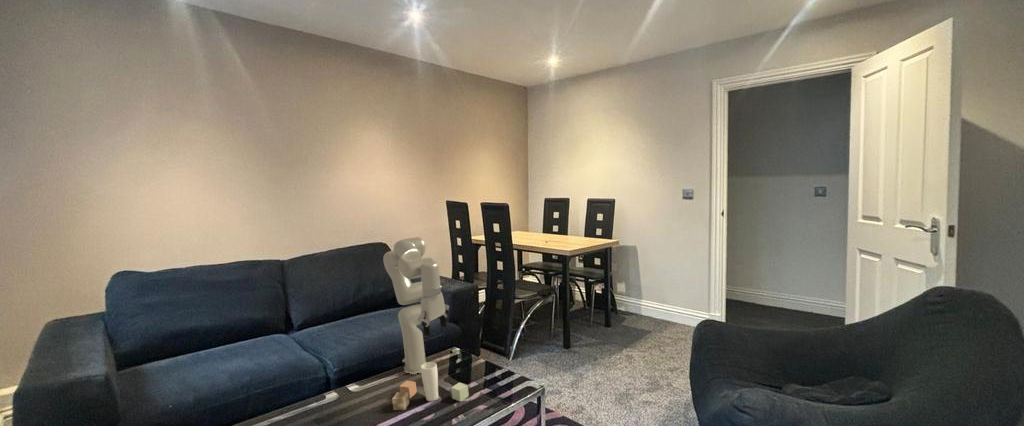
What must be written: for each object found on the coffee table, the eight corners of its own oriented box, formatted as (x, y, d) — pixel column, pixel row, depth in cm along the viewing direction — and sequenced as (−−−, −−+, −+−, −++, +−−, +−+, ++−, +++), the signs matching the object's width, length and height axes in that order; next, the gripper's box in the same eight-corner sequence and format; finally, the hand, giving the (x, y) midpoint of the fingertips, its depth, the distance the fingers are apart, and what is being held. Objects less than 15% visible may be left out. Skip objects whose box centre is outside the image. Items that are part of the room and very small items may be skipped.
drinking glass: (425, 395, 197) (421, 362, 195) (440, 393, 198) (437, 361, 196) (423, 403, 191) (419, 370, 189) (439, 401, 191) (436, 368, 189)
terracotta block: (400, 396, 198) (399, 386, 197) (407, 390, 203) (406, 380, 202) (410, 398, 196) (408, 387, 195) (416, 392, 201) (415, 381, 200)
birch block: (393, 410, 188) (392, 398, 187) (398, 403, 193) (396, 392, 192) (405, 410, 187) (403, 398, 187) (409, 403, 192) (408, 392, 191)
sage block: (452, 398, 193) (451, 387, 192) (460, 393, 197) (459, 382, 196) (460, 401, 190) (459, 390, 189) (468, 396, 194) (467, 385, 193)
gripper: (440, 284, 197) (443, 321, 200) (409, 296, 183) (414, 336, 186) (452, 286, 193) (456, 324, 195) (422, 299, 179) (427, 340, 181)
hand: (435, 330), depth 191 cm, fingers open, 9 cm apart
